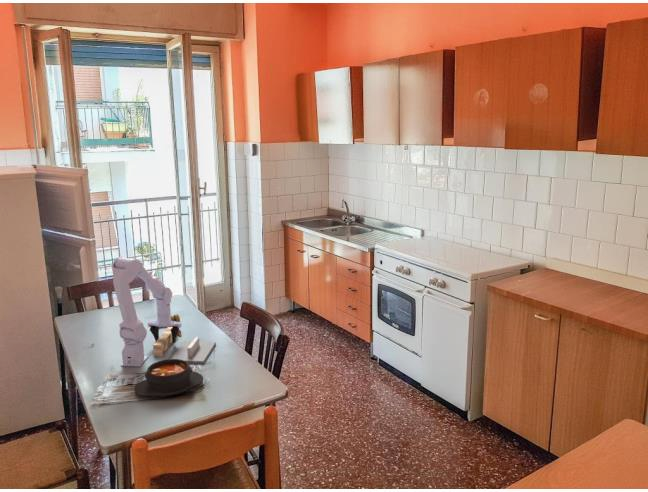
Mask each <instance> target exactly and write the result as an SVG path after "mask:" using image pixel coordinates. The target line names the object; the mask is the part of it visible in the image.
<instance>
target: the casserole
mask: <svg viewBox="0 0 648 492" xmlns="http://www.w3.org/2000/svg"><path fill="white" fill-rule="evenodd" d="M144 378H145V379H144V380H141V381H138V382H137V383H136V384H135V385H134V388H133V389H134V393H136V394H137V395H139V396H141V397H152V396H158V397H159V396H160V397H162V396H163V397H164V396H165V397H166V396H171V395H177V394H180V393H183V392H186V391H188V390H189V389H191V388H194V387H197V386H199V385H201V384H202V383H203V382H204V377H203V375H202V374H201V373H199V372H196V371H193V368H192V366H190V364H189V363H187V362H186V361H184V360H180V359H171V358H169V359H163V360H162V359H161V360H158V361H156V362H153V363H152V364H151V365H149V366H148V367H147V370H146V372H145V373H144Z"/></svg>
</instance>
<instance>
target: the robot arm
mask: <svg viewBox="0 0 648 492" xmlns="http://www.w3.org/2000/svg"><path fill="white" fill-rule="evenodd" d="M113 260H114V261H113V262H112V265H111V270H112V274H113V275H112V277H113V279H112V280H113V281H112V282H113V287H114V291H115V295H116V296H115V297H116V298H117V303H118V307H119V310H120V313H121V318H122V321H121V322H119V337H120V338H121V339H122V342H124V347H123V348H122V351H121V355H122V357H121V358H122V363H121V364H120V366H121V367H141V366H142V364H144V362H146V360H147V359H148V358H149V356H148V355H145V349H144V342H145V339H146V337H147V335H148V334H147V333H148V331H147V329H146V327H145V326H144V323H143V322H142V321H141V320H140V319H139V318H138V315H137V312H136V308H135V303H134V300H133V295H132V292H131V291H132V290H131V288H130V283H131V282H133V281H134V280H135V278H137V277H138V278H139V279H140V280H141V281H143V282H144V284H145V288H146V289H148V291H150V293H152V298H153V299H155V303H156V315H157V316H156V318H157V320H158V321H157V320H155V321H154V320H153V321H148V322H147V328H149V331H150V332H151V335H152V336H153V337H154V340H155V342H156V341H157V340H158V339H159V337H160V333H159V332H160V328H168V327H173V328H172V329H171V333H172V343H171V344H175V343H176V339H177V337H176V335H177V332H178V330H180V329H181V328H182V322H181V321H180V322H175V321H171V316H172V314H171V302H172V297H173V291H172V290H171V288H170V287H167V286H165V283H163V282H161V280H160V278H159V277H158V276H155V275H154V276H152V275H151V274H150V273H149V272H148V270H147V269H146V268H145V266H144V263H142V262H141V260H139V259H137V258H130V257H123V256H117V257H116V258H115V259H113ZM177 336H178V335H177Z"/></svg>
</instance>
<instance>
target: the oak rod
mask: <svg viewBox="0 0 648 492" xmlns="http://www.w3.org/2000/svg"><path fill="white" fill-rule="evenodd" d="M172 328H173V327H166V329H165V331H163V332H162V334H161V335H159V339H158V340H157V341H155V342H154V343H153V345H152V349H153V351H152V352H153V356H155V357H158V356H160V357H161V356H163V355H164V354H165V353H166V351H167V349H168V348H170V346H171V344H173V343H172V333H171V329H172ZM177 337H178V335H176V338H177Z"/></svg>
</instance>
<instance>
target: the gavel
mask: <svg viewBox="0 0 648 492" xmlns="http://www.w3.org/2000/svg"><path fill="white" fill-rule="evenodd" d="M156 321H158V320H156ZM171 321H175V322H181V319H180V315H179V314H173V315H171ZM177 336H179V337H181V336H182V331H181V330H180V329H179V330H178V332H177Z"/></svg>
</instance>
